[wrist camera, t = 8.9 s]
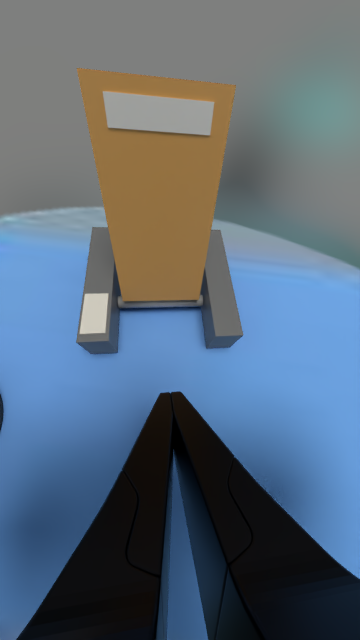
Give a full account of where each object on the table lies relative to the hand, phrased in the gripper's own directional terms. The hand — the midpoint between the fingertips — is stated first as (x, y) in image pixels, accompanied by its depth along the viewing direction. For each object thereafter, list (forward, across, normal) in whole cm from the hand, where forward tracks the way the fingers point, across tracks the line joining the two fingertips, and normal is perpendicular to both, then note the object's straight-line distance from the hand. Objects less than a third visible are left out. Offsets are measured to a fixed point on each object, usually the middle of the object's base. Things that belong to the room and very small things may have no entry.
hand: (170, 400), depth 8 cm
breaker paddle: (+10, 0, -2) cm, 10 cm away
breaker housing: (+11, 0, -2) cm, 11 cm away
